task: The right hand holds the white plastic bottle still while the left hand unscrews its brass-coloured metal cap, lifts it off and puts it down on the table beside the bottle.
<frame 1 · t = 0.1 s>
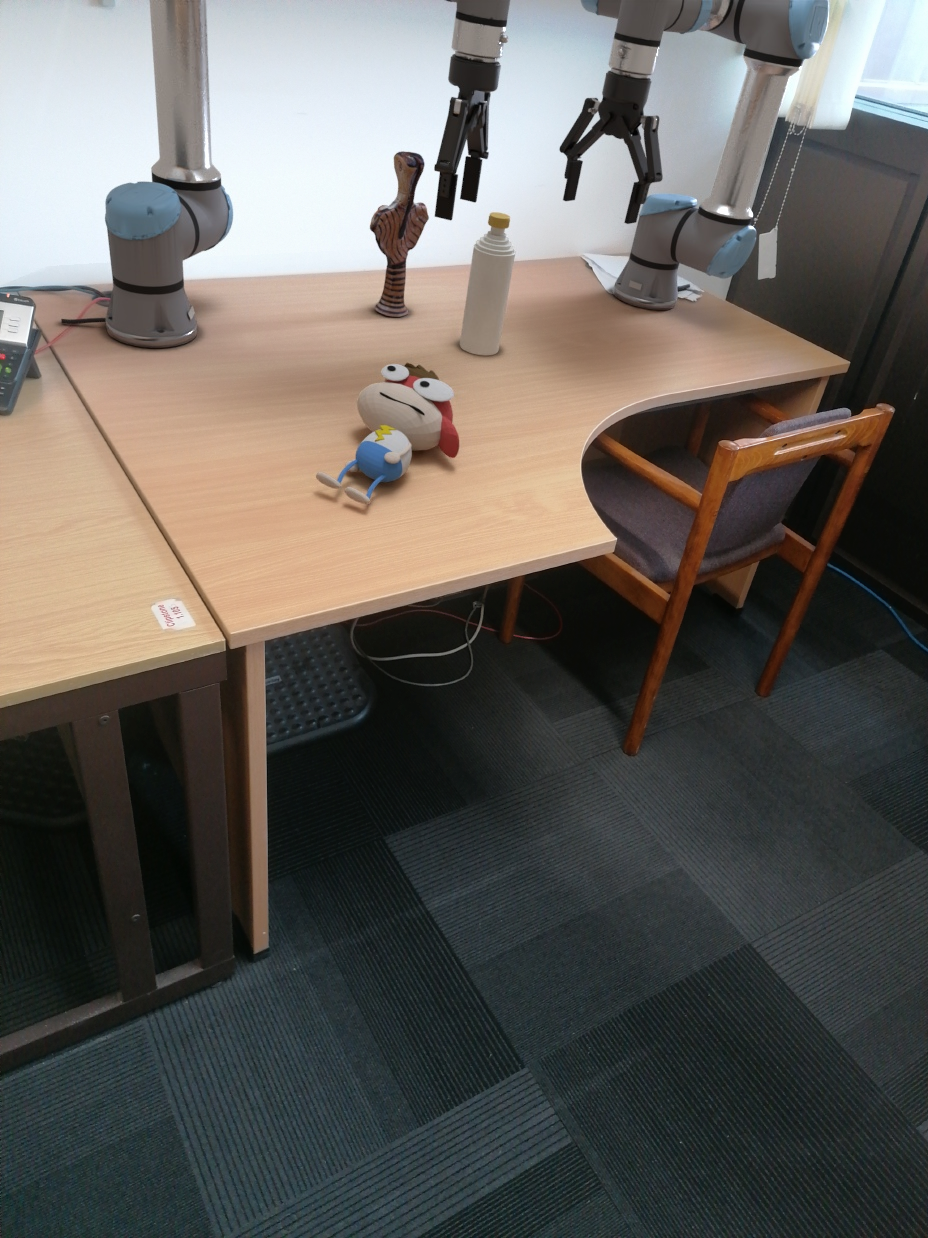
left hand: (456, 208, 144), 28 cm above the table, tool pointing down, fingers open, 13 cm apart
right hand: (598, 211, 157), 28 cm above the table, tool pointing down, fingers open, 13 cm apart
figurine: (393, 311, 182), on the table
cap: (499, 217, 159), point 24 cm above the table, screwed on, not yet turned
bottle: (479, 347, 174), on the table
toy: (388, 459, 134), on the table
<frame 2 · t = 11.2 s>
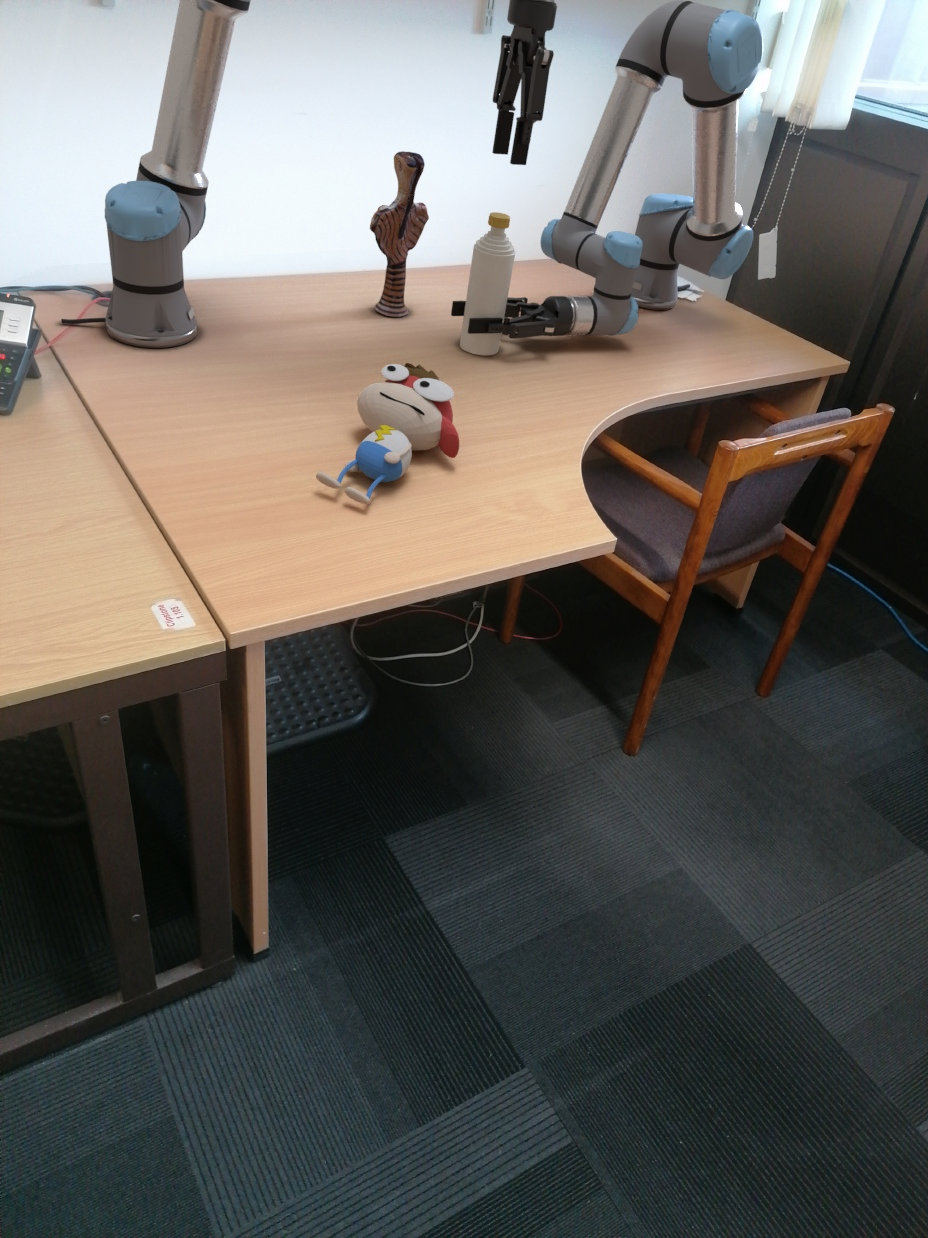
left hand: (508, 158, 153), 34 cm above the table, tool pointing down, fingers open, 6 cm apart
right hand: (460, 316, 168), 6 cm above the table, tool horizontal, fingers closed on bottle, 8 cm apart
bottle: (479, 347, 174), on the table, touching right hand
everything else where it was.
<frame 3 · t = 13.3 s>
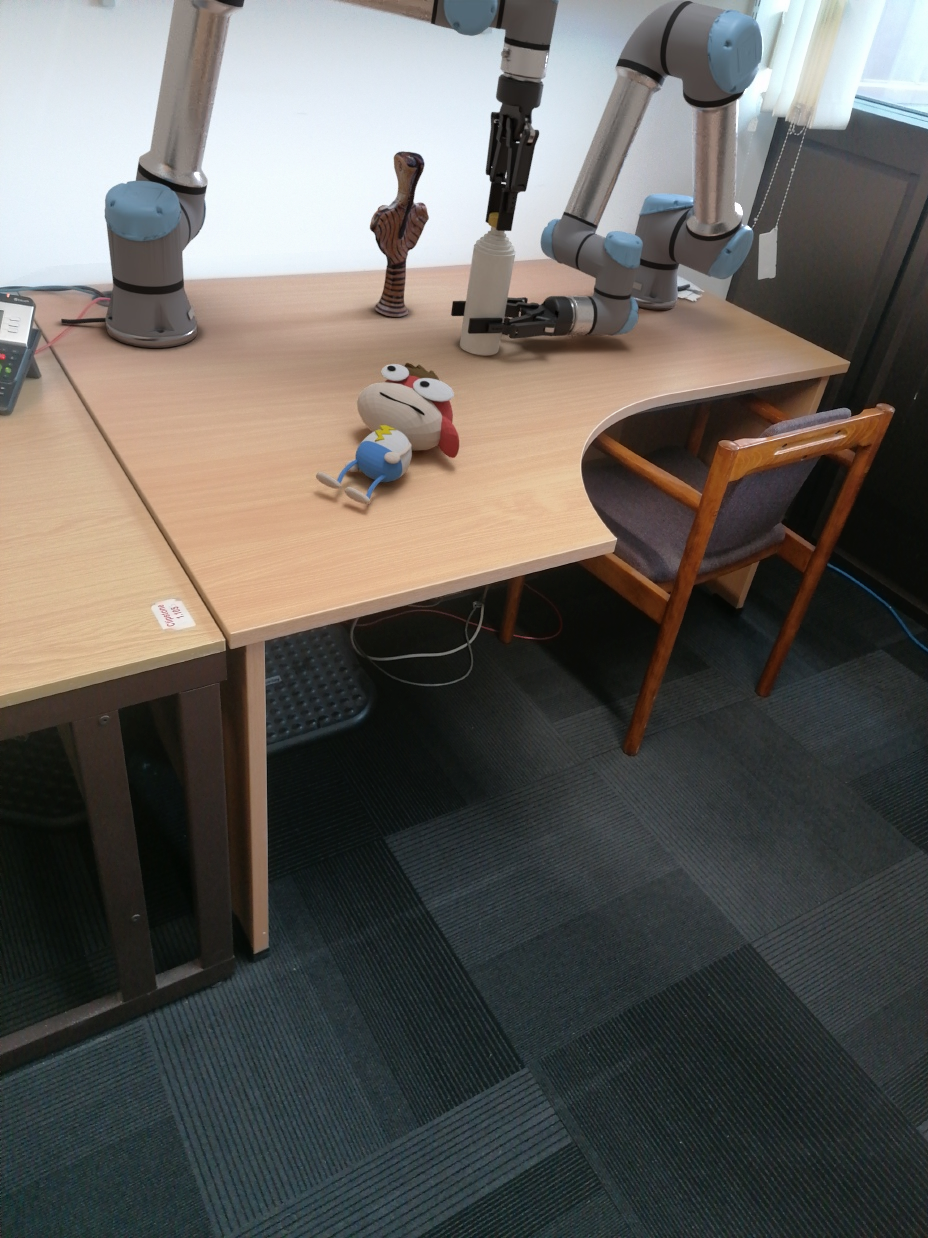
left hand: (498, 225, 160), 23 cm above the table, tool pointing down, fingers closed on cap, 4 cm apart
right hand: (461, 316, 168), 6 cm above the table, tool horizontal, fingers closed on bottle, 8 cm apart
cap: (499, 217, 159), point 24 cm above the table, screwed on, not yet turned, touching left hand
bottle: (479, 347, 174), on the table, touching right hand
everything else where it was.
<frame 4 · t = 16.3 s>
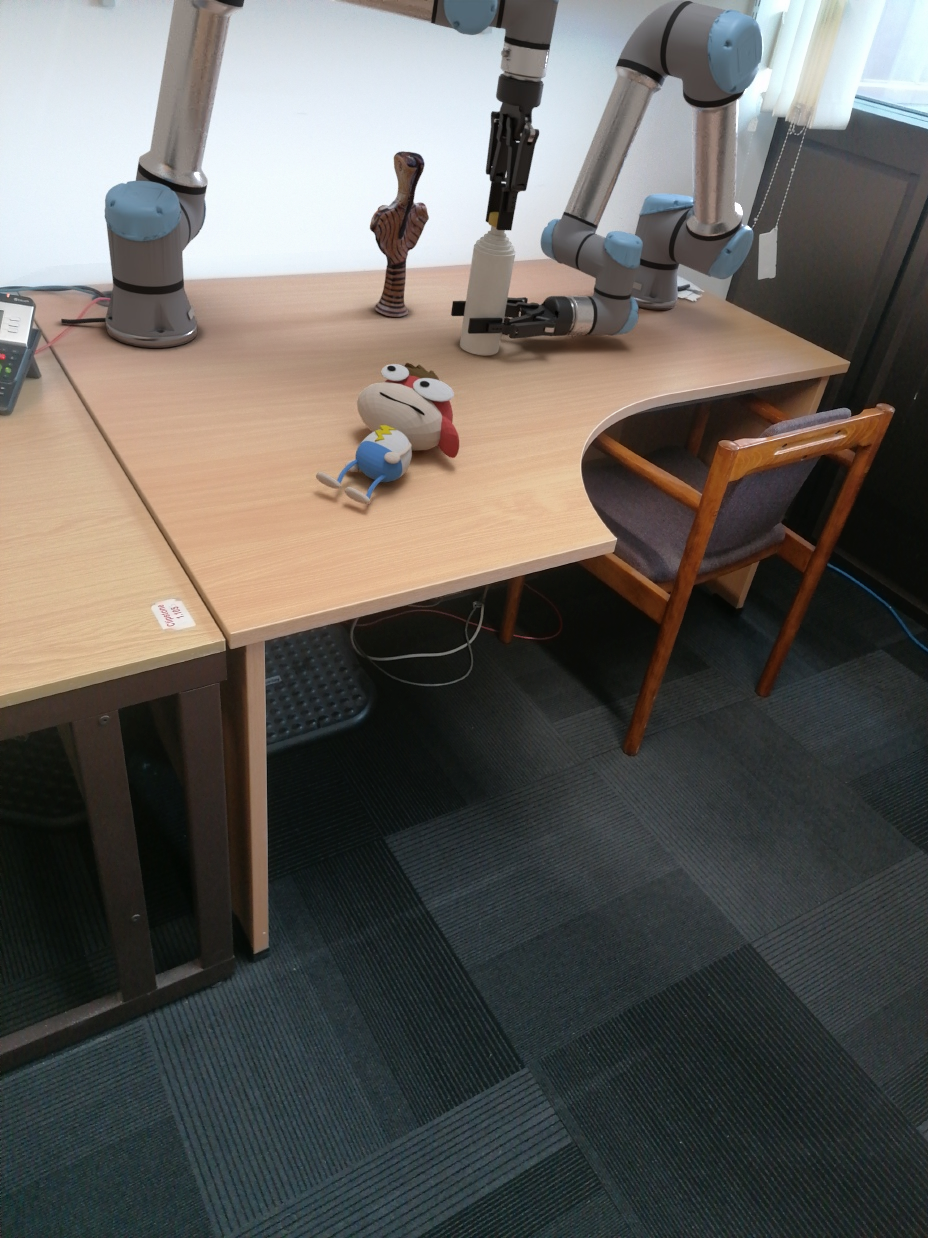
left hand: (498, 225, 160), 23 cm above the table, tool pointing down, fingers closed on cap, 4 cm apart
right hand: (461, 316, 168), 6 cm above the table, tool horizontal, fingers closed on bottle, 8 cm apart
cap: (499, 216, 159), point 24 cm above the table, turned 84° so far, risen 0.1 cm, still on its thread, touching left hand
bottle: (479, 347, 174), on the table, touching right hand
everything else where it was.
when the left hand's fingers open (1 cm above the table, at t = 32.0 s): cap stays where it is, point 1 cm above the table.
when the right hand's fingers open (6 cm above the table, at t = 33.3 s): bottle stays where it is, on the table.
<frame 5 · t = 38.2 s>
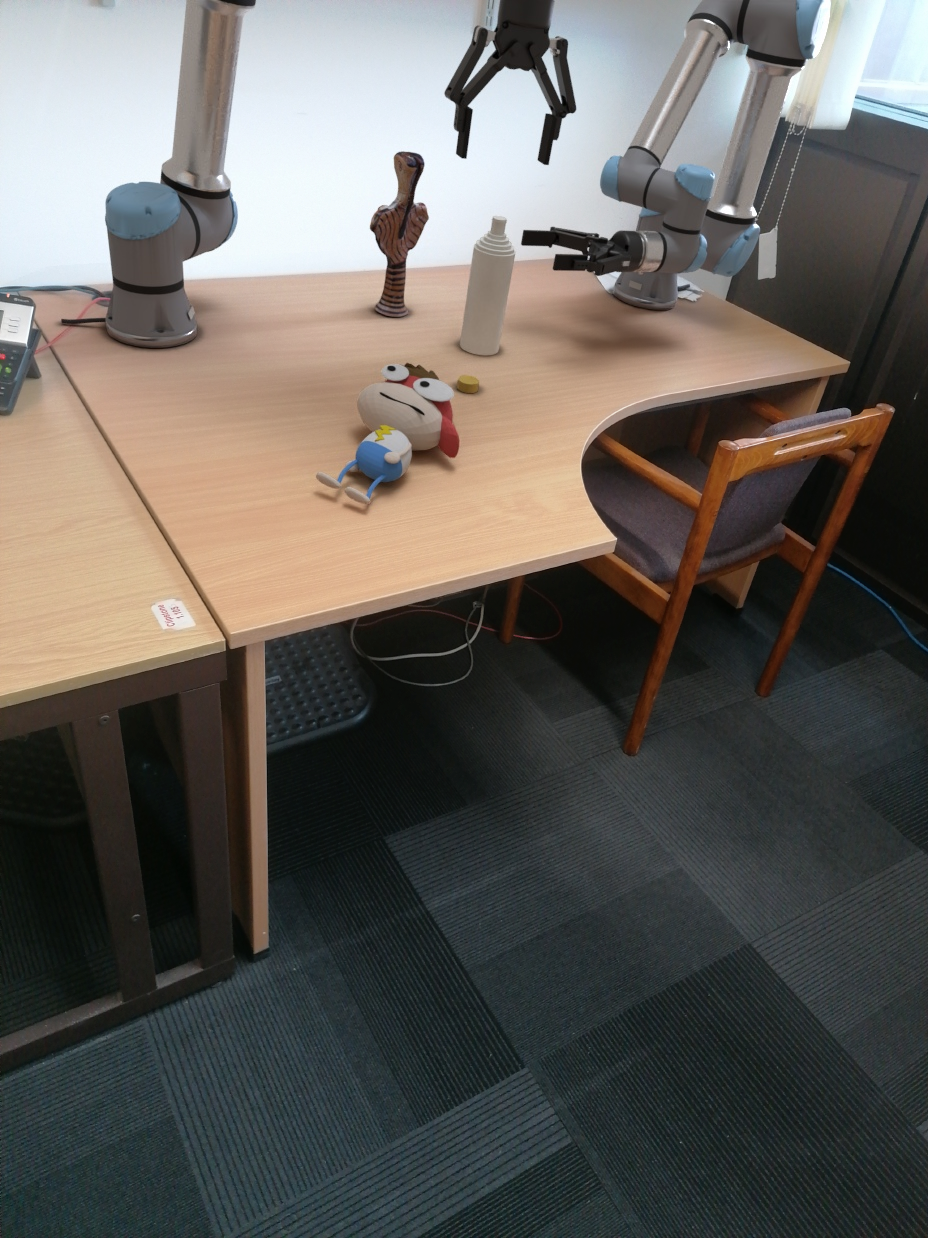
left hand: (502, 159, 135), 37 cm above the table, tool pointing down, fingers open, 13 cm apart
right hand: (538, 249, 166), 19 cm above the table, tool horizontal, fingers open, 13 cm apart
cap: (468, 381, 157), point 1 cm above the table, off its thread
bottle: (479, 347, 174), on the table
everything else where it was.
at the end: cap came off its thread; cap point 1.4 cm above the table; the left hand is holding nothing; the right hand is holding nothing; bottle tilted 0°; bottle moved 0.0 cm from its start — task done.
